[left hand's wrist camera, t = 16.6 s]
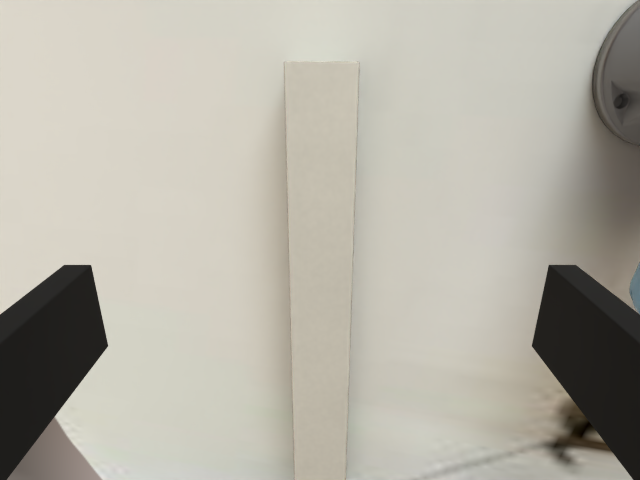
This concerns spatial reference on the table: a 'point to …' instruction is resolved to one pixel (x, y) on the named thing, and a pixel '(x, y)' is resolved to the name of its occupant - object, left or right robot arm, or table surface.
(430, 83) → the table surface
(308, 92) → the beam
